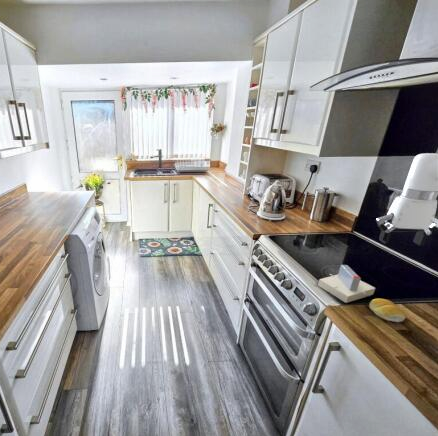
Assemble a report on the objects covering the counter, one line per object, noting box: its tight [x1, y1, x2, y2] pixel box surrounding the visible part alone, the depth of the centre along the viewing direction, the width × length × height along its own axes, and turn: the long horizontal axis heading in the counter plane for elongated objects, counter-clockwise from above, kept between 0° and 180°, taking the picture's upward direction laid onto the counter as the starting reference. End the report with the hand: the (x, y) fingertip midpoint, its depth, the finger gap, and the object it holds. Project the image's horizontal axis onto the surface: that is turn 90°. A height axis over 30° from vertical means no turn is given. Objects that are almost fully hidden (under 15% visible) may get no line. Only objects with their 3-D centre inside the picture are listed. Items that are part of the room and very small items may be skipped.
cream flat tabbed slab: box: [317, 273, 376, 304], centre depth 93 cm, size 14×13×3 cm
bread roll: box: [368, 298, 407, 323], centre depth 81 cm, size 8×9×4 cm
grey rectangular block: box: [337, 264, 362, 291], centre depth 91 cm, size 9×2×6 cm, turn 167°
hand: (400, 243), depth 81 cm, fingers open, 9 cm apart
